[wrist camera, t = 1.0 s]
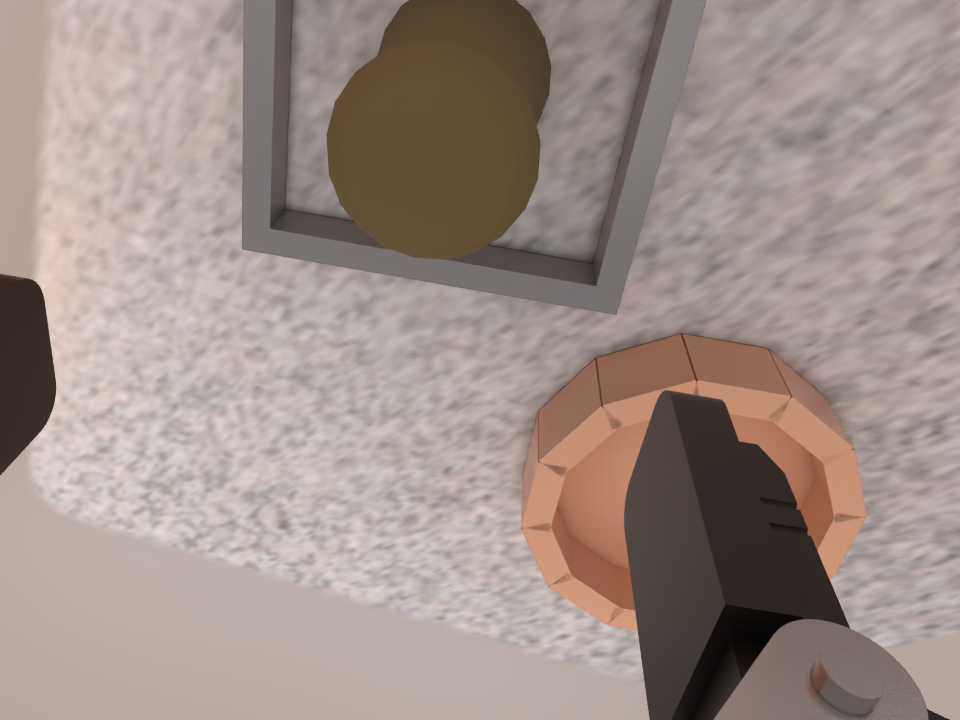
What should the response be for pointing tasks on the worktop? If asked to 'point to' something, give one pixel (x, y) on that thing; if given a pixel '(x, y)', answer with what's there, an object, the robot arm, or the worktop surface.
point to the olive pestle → (442, 127)
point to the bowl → (618, 438)
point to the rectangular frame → (490, 265)
